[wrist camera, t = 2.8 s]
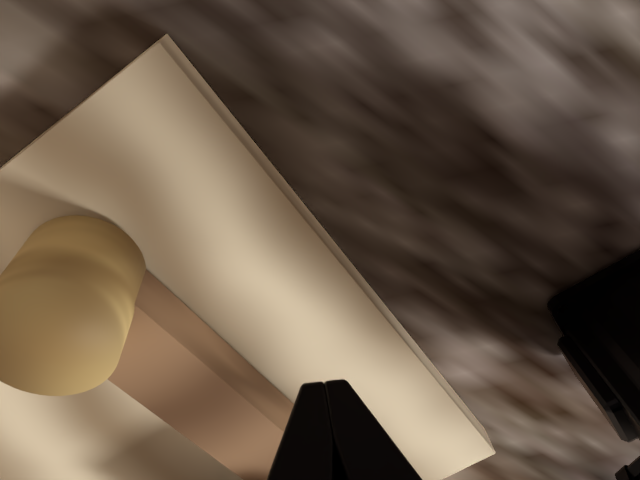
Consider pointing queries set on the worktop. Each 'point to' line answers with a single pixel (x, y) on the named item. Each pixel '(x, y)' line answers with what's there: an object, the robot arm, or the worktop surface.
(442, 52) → the worktop surface
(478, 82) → the worktop surface
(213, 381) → the walnut link
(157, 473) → the pin board
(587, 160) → the worktop surface
